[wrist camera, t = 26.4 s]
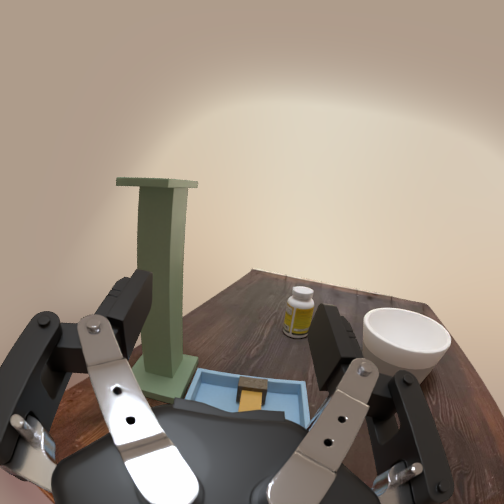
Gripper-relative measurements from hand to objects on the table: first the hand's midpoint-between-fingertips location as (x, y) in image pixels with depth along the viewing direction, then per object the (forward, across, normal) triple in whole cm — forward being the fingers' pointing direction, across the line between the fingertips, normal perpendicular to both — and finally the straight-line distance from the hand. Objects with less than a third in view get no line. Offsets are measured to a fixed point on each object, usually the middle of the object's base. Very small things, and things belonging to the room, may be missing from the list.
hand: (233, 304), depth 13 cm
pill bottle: (+37, -19, +34) cm, 54 cm away
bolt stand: (+18, +8, +32) cm, 37 cm away
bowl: (+21, -37, +28) cm, 51 cm away
